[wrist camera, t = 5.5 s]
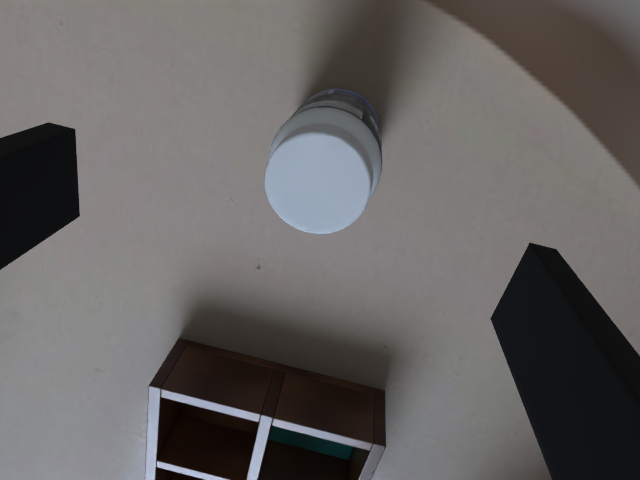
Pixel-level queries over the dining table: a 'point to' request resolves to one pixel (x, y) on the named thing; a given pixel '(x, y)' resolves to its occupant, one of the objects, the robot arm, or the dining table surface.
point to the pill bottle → (325, 162)
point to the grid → (258, 421)
